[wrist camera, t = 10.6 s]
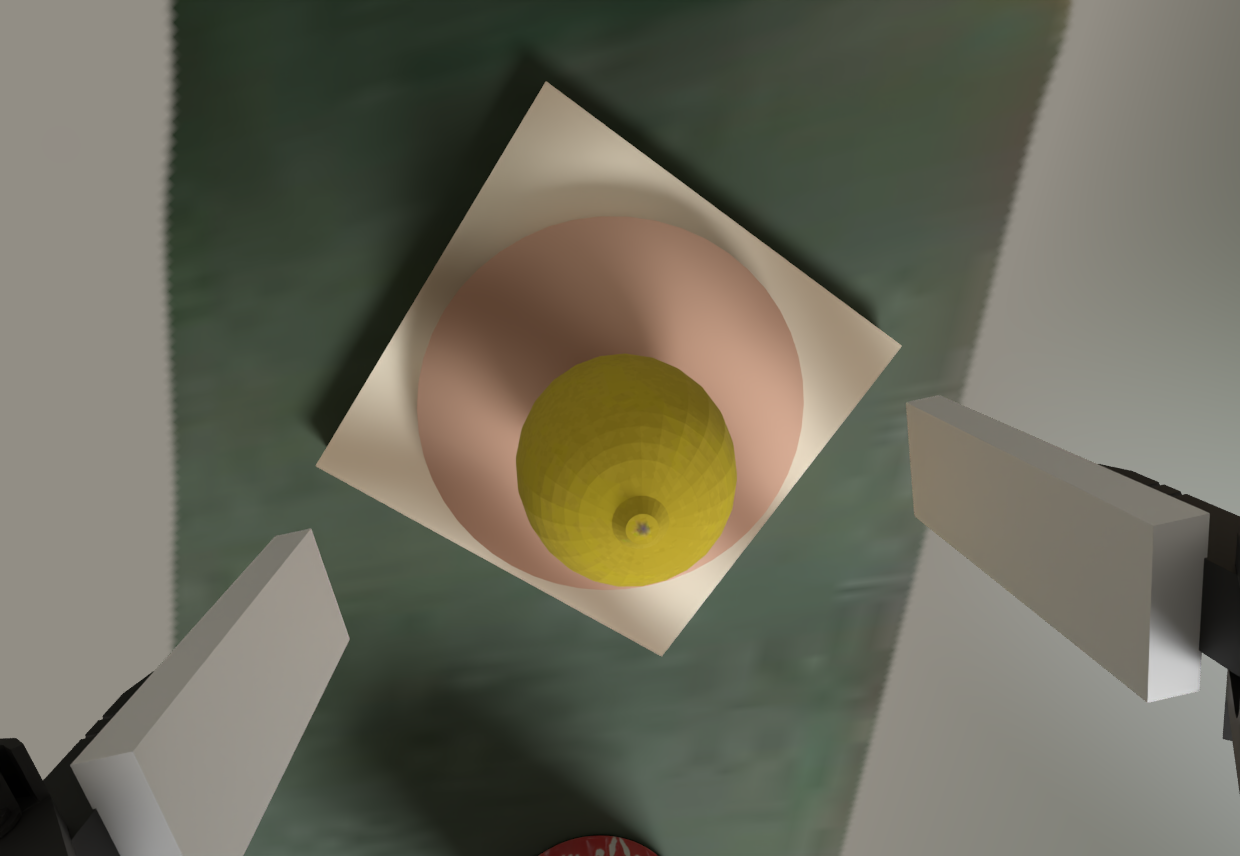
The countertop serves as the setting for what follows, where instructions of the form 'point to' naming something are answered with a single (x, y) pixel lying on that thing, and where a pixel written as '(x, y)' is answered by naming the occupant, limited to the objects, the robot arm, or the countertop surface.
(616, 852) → the mug
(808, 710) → the countertop surface
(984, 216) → the countertop surface
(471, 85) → the countertop surface
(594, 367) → the lemon
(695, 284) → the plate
